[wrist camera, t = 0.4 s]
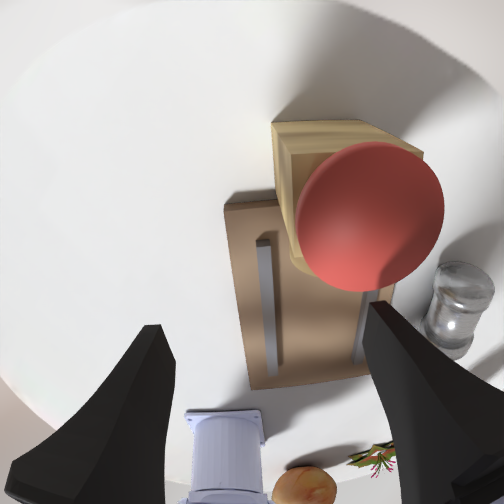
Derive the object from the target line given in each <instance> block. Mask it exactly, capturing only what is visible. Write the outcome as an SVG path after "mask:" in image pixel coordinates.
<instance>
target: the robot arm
mask: <svg viewBox="0 0 504 504" xmlns="http://www.w3.org/2000/svg"><path fill="white" fill-rule="evenodd" d="M362 345H363V349H364V353H365V357H366V361H367V365H368V368H369V371H370V373H371V376H372V379H373V381H374V384H375V387H376V389H377V392H378V394H379V397H380V400H381V402H382V405H383V408H384V410H385V413H386V416H387V419H388V422H389V426H390V430H391V434H392V439H393V443H394V448H395V453H396V459H397V465H398V471H399V479H400V487H401V499H402V504H504V392H503V391H501V390H499V389H497V388H495V387H493V386H492V385H490V384H488V383H486V382H485V381H483V380H481V379H480V378H478V377H476V376H475V375H473V374H472V373H470V372H469V371H467V370H466V369H464V368H463V367H461V366H460V365H459V364H457V363H456V362H454V361H453V360H452V359H450V358H449V357H448V356H447V355H445V354H444V353H443V352H442V351H440V350H439V349H438V348H437V347H436V346H434V345H433V344H432V343H431V342H430V341H429V340H427V339H426V338H425V337H424V336H423V335H422V334H421V333H420V332H419V331H417V330H416V329H415V328H414V327H413V326H412V325H411V324H410V323H409V322H408V321H407V320H406V319H405V318H404V317H403V316H402V315H400V314H399V313H398V312H397V311H396V310H395V309H394V308H393V307H392V306H391V305H390V304H389V303H388V302H387V301H386V300H382V301H376V302H369V306H368V312H367V318H366V323H365V329H364V334H363V339H362ZM175 370H176V361H175V359H174V356H173V354H172V351H171V349H170V347H169V344H168V342H167V339H166V337H165V334H164V332H163V329H162V326H161V324H159V325H145V326H144V327H143V328H142V329H141V331H140V332H139V334H138V335H137V336H136V338H135V339H134V341H133V342H132V344H131V345H130V346H129V348H128V349H127V351H126V352H125V354H124V355H123V356H122V358H121V359H120V361H119V362H118V363H117V365H116V366H115V367H114V369H113V370H112V372H111V373H110V374H109V376H108V377H107V378H106V379H105V381H104V382H103V383H102V384H101V386H100V387H99V388H98V389H97V391H96V392H95V393H94V394H93V395H92V397H91V398H90V399H89V400H88V401H87V402H86V403H85V404H84V405H83V406H82V407H81V409H80V410H79V411H78V412H77V413H76V414H75V415H74V416H72V417H71V418H70V419H69V420H68V421H67V422H66V423H65V424H64V425H63V426H62V427H60V428H59V429H58V430H57V431H56V432H55V433H53V434H52V435H51V436H50V437H48V438H47V439H46V440H44V441H43V442H42V443H41V444H39V445H38V446H36V447H35V448H33V449H32V450H30V451H29V452H27V453H25V454H24V455H22V456H20V457H19V458H17V459H16V460H14V461H12V464H11V468H10V471H9V474H8V478H7V482H6V485H5V489H4V491H5V493H6V494H7V495H8V496H10V497H11V498H13V499H15V500H17V501H18V502H20V503H22V504H165V488H164V464H165V444H166V436H167V430H168V424H169V418H170V412H171V406H172V400H173V394H174V388H175ZM184 418H185V419H186V421H187V423H188V425H189V427H190V429H191V430H192V432H193V434H194V445H193V461H192V479H191V491H190V492H189V499H188V498H181V500H179V501H178V502H177V503H176V504H275V502H274V501H272V500H267V494H263V483H262V467H261V451H260V447H264V446H265V439H264V432H263V426H262V419H261V412H260V411H259V410H248V411H230V412H200V413H185V414H184Z"/></svg>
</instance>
